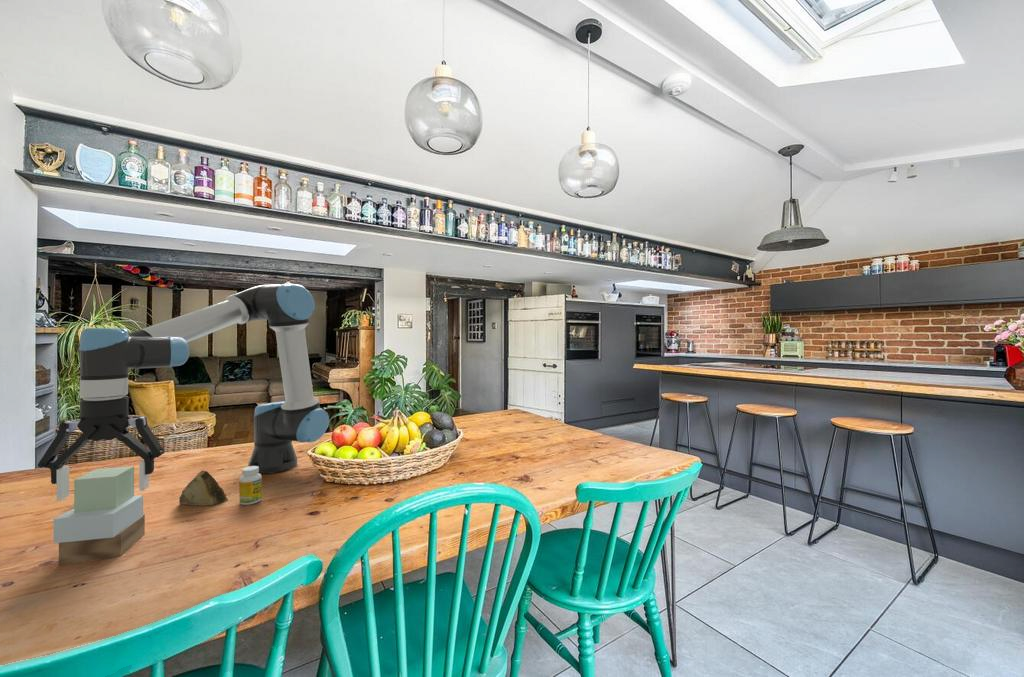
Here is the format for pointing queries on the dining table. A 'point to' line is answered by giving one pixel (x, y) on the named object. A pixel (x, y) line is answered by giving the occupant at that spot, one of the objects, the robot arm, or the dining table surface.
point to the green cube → (103, 489)
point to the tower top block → (97, 522)
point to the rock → (202, 491)
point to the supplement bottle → (250, 486)
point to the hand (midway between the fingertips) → (104, 493)
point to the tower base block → (101, 545)
